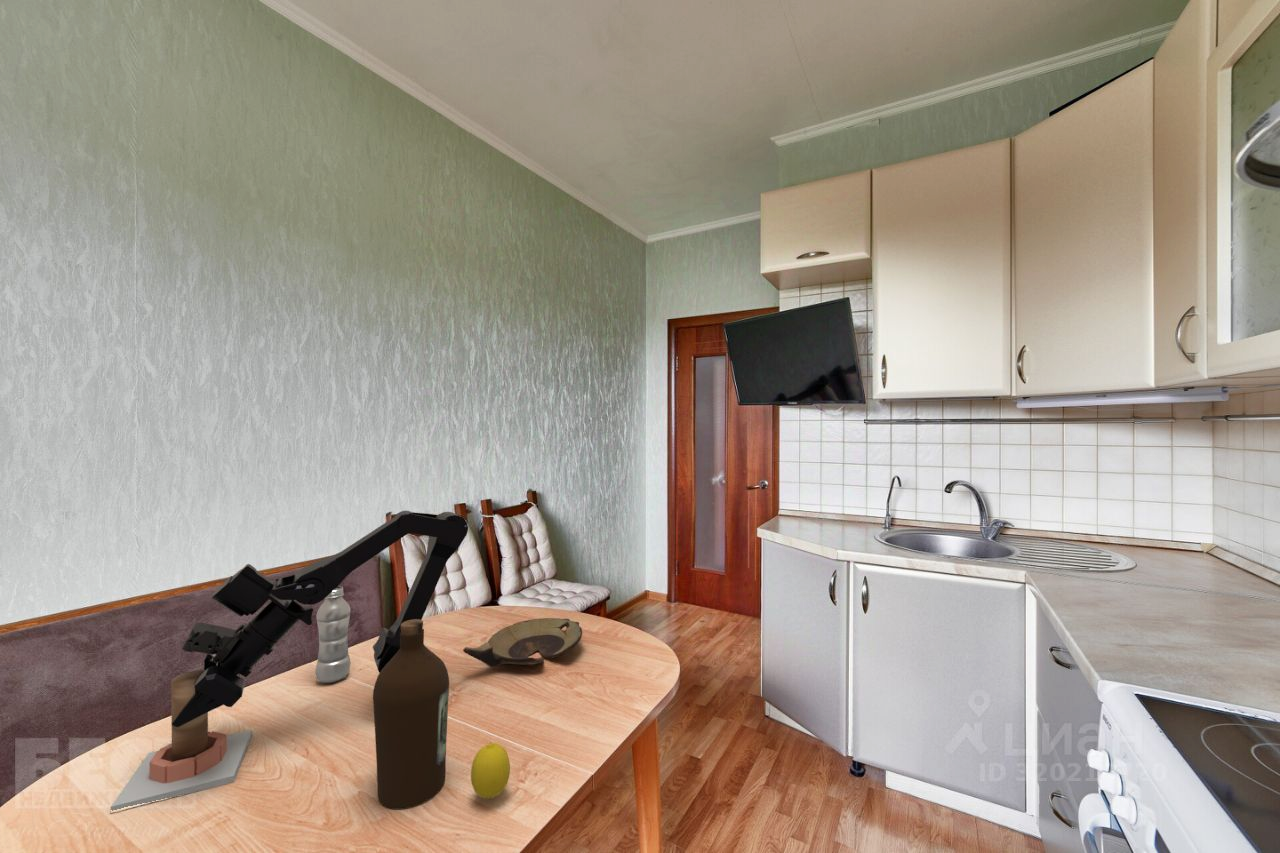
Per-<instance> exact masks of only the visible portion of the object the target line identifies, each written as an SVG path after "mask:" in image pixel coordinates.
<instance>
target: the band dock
mask: <svg viewBox="0 0 1280 853" xmlns="http://www.w3.org/2000/svg"><path fill="white" fill-rule="evenodd" d="M252 738H253V729H250V730H244V731H241V732H235V733H232V734H231V733H230V734H226V733H222V732H218V731H214V730H212V731H208V750H206V751H204V752H202V753H200V754H198V755H197V756H195V757H191V758H187V759H182V760H178V761H174V762H172V742H171V743H169V744H167V745H165V746H163V747H161V748H160V749H159V750H156V751H151V752H148V753H147V754H146V756H145V757H144V758H143V760H142V762H141V763H140V765H139V766H138V767H137V768H136V770H135V772H134V773H133V774H132V776H131V777H130V778H129V780H128V782H127V783H126V785H125V786H124V787H123V789H122V790H121V792H120V793H119V794H118V796H117V798H116V799H115V800H114V802H113V803H112V804H111V806H110V811H111V810H112V811H113V810H117V809H121V808H124V807H128V806H133V805H137V804H142V803H148V802H152V801H156V800H161V799H165V798H170V797H174V798H176V797H175V796H178V797H180V796H179V795H182V796H185V795H184V794H186V795H188V793H189V794H192V793H196V792H197V793H198V792H200V791H201V792H202V791H204V790H209V789H212V788H213V789H214V788H216V787H219V786H224V785H228V784H231V783H234V782H235V780H236V778H237V776H238V773H239V770H240V768H241V766H242V763H243V760H244V757H245V755H246V753H245V752H247V750H248V748H249V745H250V742H251V739H252ZM247 747H248V748H247ZM170 799H171V798H170Z"/></svg>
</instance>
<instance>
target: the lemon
mask: <svg viewBox="0 0 1280 853" xmlns="http://www.w3.org/2000/svg"><path fill="white" fill-rule="evenodd" d="M470 771H471V772H470V780H471V786H472V788H473V790H474V792H475V794H477V795H478V796H479V797H481V798H482V799H483V798H484V799H489V800H492V799H493V798H495V797H497V796H498V795H500V794H501V793H502V792H503V790H504V789H505V788H506V787H507V784H508V782H509V778H510V773H511V772H510V771H511V763H510V758H509V755H508V752H507V750H506V749H505V747H504V746H502V745H501V744H499V743H494V742H489V743H488V744H485V745H484V746H482V747H481V748H480V749H478V751H477V752H476V754H475V756H474V758H473V760H472V765H471V770H470Z"/></svg>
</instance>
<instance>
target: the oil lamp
mask: <svg viewBox="0 0 1280 853" xmlns="http://www.w3.org/2000/svg"><path fill="white" fill-rule="evenodd" d="M565 627H566V628H565ZM563 628H565V629H564V630H563ZM582 637H583V629H582V627H581V626H580V622H579V621H573V620H570V619H569V618H556V617H555V618H554V617H552V618H550V617H547V618H546V617H545V618H544V617H543V618H537V619H536V618H533V619H528V620H521V621H518V622H515V623H512V624H511V625H507V626H505V627H504V628H502V629H500V630H498V631H496V632H495V633H494V634H492V636H490V638H489V639H488V640H487V642H483V644H481V645H480V646H478V647H469V646H465V647H464V648H463V650H462V651H463V653H465V654H466V655H468V656H470V657H473V659H476V660H478V661H479V662H482V663H483V664H486V666H489V667H493V668H494V667H498V666H500V665H504V664H505V665H507V664H509V665H533V664H539V663H542V662H544V661H545V659H546V660H549V659H553V658H556V657H560V656H562V655H564V654H565V653H568V652H570V651H571V650H572V649H573V648H574V647H575V646H577V644H578V643H579V642H580V641H581V638H582ZM536 652H539V654H540V655H541V657H530V656H532V655H533V654H535V653H536Z"/></svg>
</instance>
